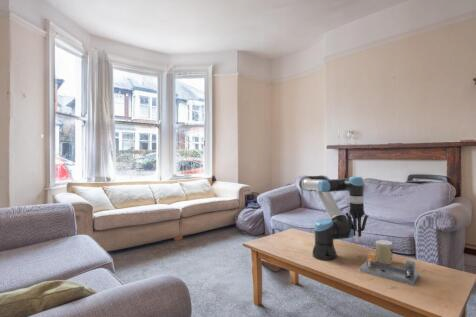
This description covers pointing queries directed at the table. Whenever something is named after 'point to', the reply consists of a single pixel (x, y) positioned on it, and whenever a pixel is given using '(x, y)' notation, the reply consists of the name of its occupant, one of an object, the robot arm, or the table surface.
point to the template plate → (392, 271)
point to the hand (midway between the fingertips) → (357, 241)
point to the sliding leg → (371, 258)
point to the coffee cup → (384, 251)
